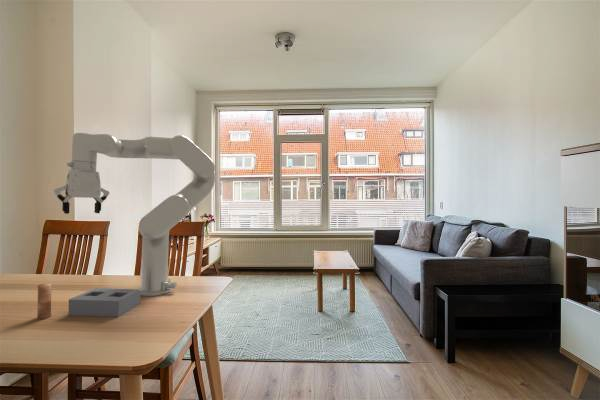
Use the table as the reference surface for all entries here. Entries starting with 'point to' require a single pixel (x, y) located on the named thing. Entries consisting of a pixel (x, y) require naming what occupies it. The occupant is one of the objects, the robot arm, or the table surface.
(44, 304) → the dowel
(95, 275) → the table surface
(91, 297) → the bore block
